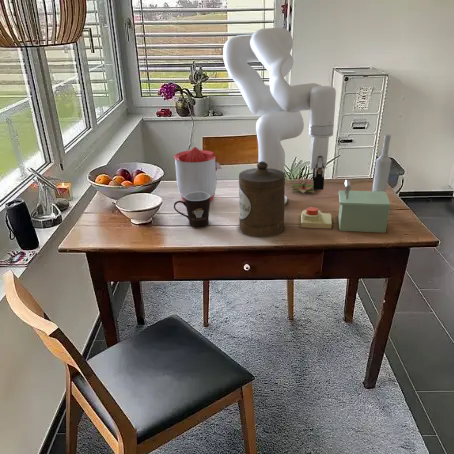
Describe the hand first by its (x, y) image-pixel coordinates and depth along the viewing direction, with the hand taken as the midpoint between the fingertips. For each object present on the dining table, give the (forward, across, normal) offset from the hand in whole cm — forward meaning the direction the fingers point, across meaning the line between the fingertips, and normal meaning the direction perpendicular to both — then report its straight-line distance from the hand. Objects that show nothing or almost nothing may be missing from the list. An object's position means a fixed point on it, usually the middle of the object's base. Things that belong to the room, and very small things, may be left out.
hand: (317, 184), depth 154 cm
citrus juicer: (+12, -18, -44) cm, 49 cm away
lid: (+5, +1, +15) cm, 16 cm away
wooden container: (+13, +6, -18) cm, 23 cm away
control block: (+13, 0, 0) cm, 13 cm away
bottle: (+13, -18, +22) cm, 32 cm away
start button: (+10, 0, -1) cm, 10 cm away
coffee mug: (+12, +5, -41) cm, 43 cm away
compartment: (+13, 0, +15) cm, 20 cm away
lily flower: (+12, -32, -4) cm, 35 cm away
